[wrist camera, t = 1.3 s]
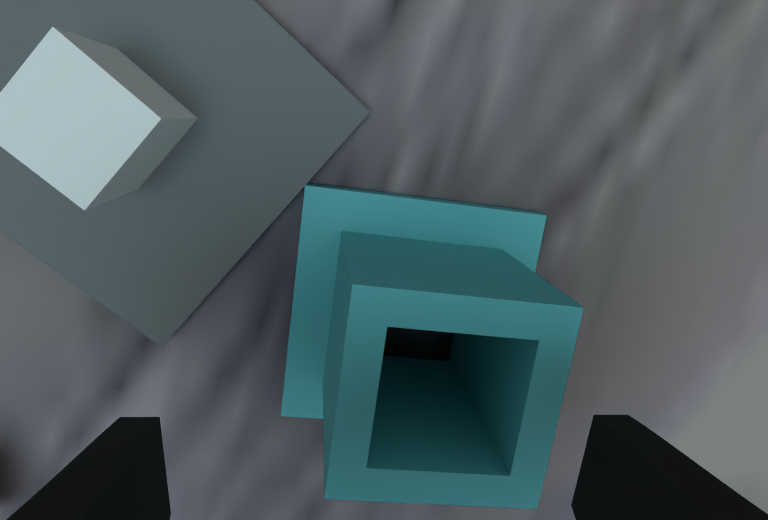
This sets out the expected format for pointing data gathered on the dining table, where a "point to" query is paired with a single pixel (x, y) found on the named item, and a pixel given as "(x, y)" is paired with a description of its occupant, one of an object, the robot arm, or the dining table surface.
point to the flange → (423, 376)
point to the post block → (156, 142)
